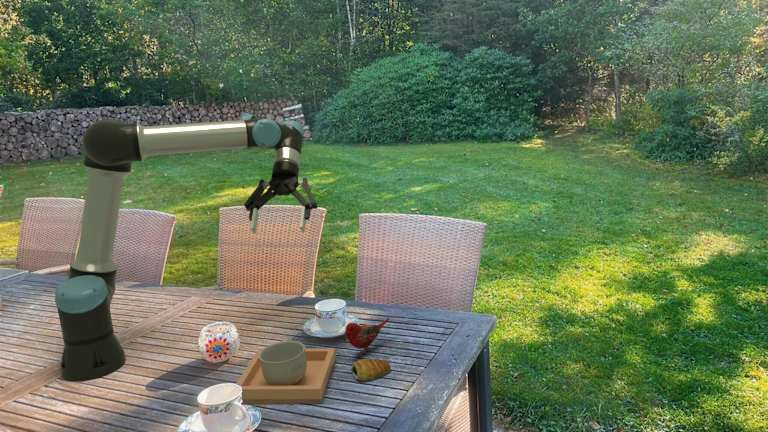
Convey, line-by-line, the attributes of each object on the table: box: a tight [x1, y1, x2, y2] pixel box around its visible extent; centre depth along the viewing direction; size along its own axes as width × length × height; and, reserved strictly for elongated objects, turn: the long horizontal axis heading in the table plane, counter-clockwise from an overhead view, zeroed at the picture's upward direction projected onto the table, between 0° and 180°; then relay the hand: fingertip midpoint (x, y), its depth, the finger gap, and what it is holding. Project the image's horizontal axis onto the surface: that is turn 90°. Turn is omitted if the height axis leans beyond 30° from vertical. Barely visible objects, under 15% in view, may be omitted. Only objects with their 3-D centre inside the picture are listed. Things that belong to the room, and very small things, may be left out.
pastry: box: [350, 358, 391, 382], centre depth 138 cm, size 9×7×4 cm
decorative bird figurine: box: [343, 317, 390, 356], centre depth 150 cm, size 3×18×10 cm, turn 139°
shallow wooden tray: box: [235, 347, 337, 404], centre depth 136 cm, size 20×20×4 cm
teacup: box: [259, 337, 307, 386], centre depth 135 cm, size 14×11×8 cm
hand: (277, 230), depth 153 cm, fingers open, 13 cm apart
